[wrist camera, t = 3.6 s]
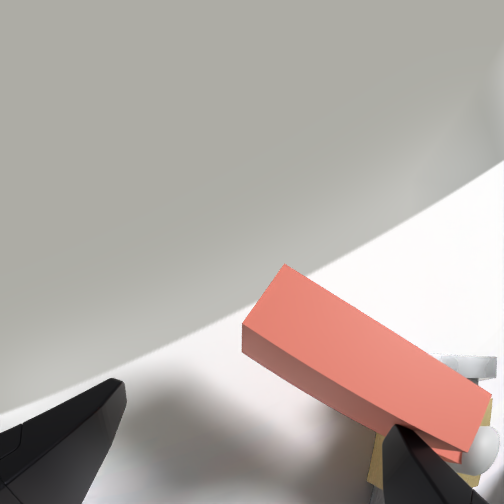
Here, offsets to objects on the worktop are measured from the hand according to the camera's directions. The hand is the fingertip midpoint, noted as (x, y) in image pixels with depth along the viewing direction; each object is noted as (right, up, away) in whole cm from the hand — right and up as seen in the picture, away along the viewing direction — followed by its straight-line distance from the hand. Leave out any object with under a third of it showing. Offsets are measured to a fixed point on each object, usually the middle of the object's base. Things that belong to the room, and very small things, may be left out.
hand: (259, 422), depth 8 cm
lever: (+5, -2, +4) cm, 7 cm away
